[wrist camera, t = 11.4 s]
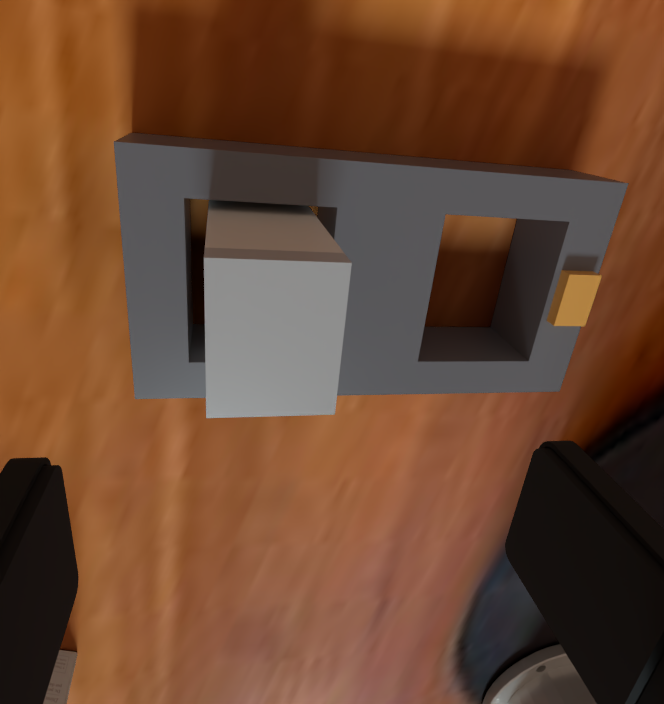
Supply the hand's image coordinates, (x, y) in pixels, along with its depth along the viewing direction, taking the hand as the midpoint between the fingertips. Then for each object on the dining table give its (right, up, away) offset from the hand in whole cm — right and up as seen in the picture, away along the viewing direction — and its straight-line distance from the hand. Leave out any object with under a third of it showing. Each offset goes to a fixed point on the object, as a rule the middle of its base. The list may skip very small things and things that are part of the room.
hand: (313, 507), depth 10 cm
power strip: (+2, +7, +15) cm, 17 cm away
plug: (-3, +8, +13) cm, 16 cm away
